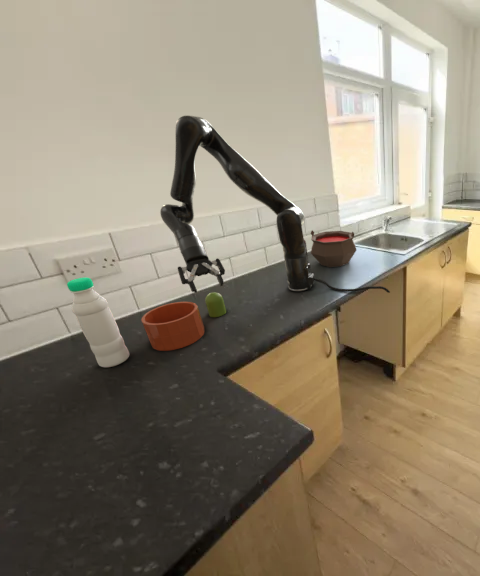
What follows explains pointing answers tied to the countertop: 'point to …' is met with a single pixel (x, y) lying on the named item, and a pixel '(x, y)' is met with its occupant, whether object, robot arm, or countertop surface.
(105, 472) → the countertop surface
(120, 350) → the water bottle
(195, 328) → the pot
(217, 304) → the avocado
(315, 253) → the brown cauldron
